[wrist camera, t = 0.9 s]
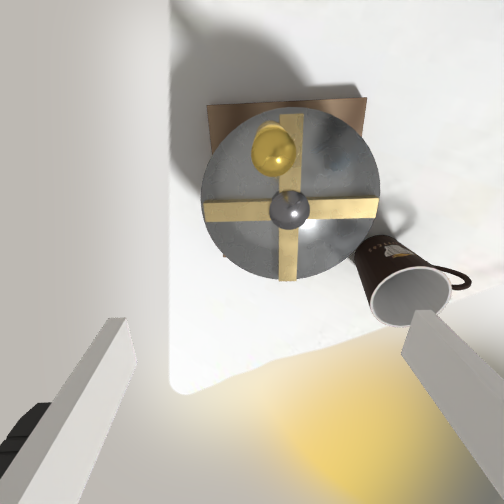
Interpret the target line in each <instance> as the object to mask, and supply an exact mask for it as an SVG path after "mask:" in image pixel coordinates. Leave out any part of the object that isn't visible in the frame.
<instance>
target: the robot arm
mask: <svg viewBox="0 0 504 504" xmlns="http://www.w3.org/2000/svg"><path fill="white" fill-rule="evenodd" d="M401 355H402V356H403V358H404V359H405V361H406V362H407V364H408V365H409V366H410V368H411V369H412V371H413V372H414V374H415V375H416V376H417V378H418V379H419V380H420V382H421V384H422V385H423V386H424V388H425V389H426V391H427V392H428V394H429V395H430V396H431V398H432V399H433V401H434V402H435V403H436V405H437V406H438V408H439V409H440V411H441V412H442V413H443V415H444V416H445V418H446V419H447V420H448V422H449V423H450V425H451V426H452V428H453V429H454V431H455V432H456V433H457V435H458V436H459V438H460V439H461V440H462V442H463V443H464V445H465V446H466V447H467V449H468V450H469V452H470V453H471V455H472V456H473V458H474V459H475V460H476V462H477V463H478V465H479V466H480V468H481V469H482V470H483V472H484V473H485V475H486V476H487V478H488V479H489V480H490V482H491V483H492V485H493V486H494V488H495V489H496V490H497V492H498V493H499V495H500V496H501V497H502V499H503V500H504V380H503V378H501V376H499V375H498V374H497V373H496V372H495V371H494V370H493V369H492V368H491V367H490V366H489V365H488V364H487V363H486V362H485V361H484V360H483V359H482V358H481V357H480V356H479V355H478V354H477V353H476V352H475V351H474V350H473V349H471V348H470V347H469V346H468V345H467V344H466V343H465V342H464V341H463V340H462V339H461V338H460V337H459V336H458V335H457V334H456V333H455V332H454V331H453V330H452V329H451V328H450V327H449V326H448V325H447V324H446V323H445V322H444V321H442V319H441V318H440V317H438V316H437V315H436V314H435V313H434V312H433V311H432V310H415V313H414V316H413V319H412V322H411V325H410V328H409V331H408V334H407V337H406V340H405V343H404V346H403V349H402V352H401ZM137 363H138V362H137V358H136V354H135V351H134V347H133V343H132V338H131V335H130V331H129V327H128V323H127V319H126V318H108V320H107V321H106V323H105V324H104V326H103V327H102V329H101V330H100V332H99V333H98V335H97V336H96V337H95V339H94V341H93V342H92V343H91V345H90V347H89V348H88V349H87V351H86V353H85V354H84V355H83V357H82V359H81V360H80V361H79V363H78V364H77V366H76V367H75V369H74V370H73V372H72V373H71V375H70V376H69V378H68V379H67V381H66V382H65V384H64V385H63V387H62V388H61V390H60V391H59V393H58V394H57V396H56V397H55V399H54V400H53V402H51V403H50V402H49V403H37V404H36V405H35V406H34V407H33V408H32V409H30V410H29V411H28V412H27V413H26V414H25V415H24V416H22V417H21V418H20V420H19V421H18V422H17V423H16V425H15V426H14V428H13V429H12V430H11V432H10V433H9V434H8V436H7V439H6V440H4V441H3V442H2V444H1V445H0V504H78V502H79V500H80V497H81V495H82V493H83V490H84V488H85V485H86V483H87V481H88V478H89V476H90V474H91V471H92V469H93V466H94V464H95V462H96V459H97V457H98V455H99V452H100V450H101V448H102V445H103V443H104V441H105V438H106V436H107V434H108V431H109V429H110V427H111V424H112V422H113V419H114V417H115V415H116V412H117V410H118V408H119V405H120V403H121V400H122V398H123V396H124V394H125V391H126V389H127V386H128V384H129V382H130V379H131V377H132V375H133V372H134V370H135V368H136V365H137Z"/></svg>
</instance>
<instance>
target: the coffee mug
mask: <svg viewBox="0 0 504 504" xmlns="http://www.w3.org/2000/svg"><path fill="white" fill-rule="evenodd" d="M354 261H355V264H356V267H357V270H358V273H359V276H360V279H361V282H362V285H363V288H364V291H365V294H366V297H367V300H368V303H369V306H370V309H371V312H372V314H373V315H374V317H375V318H376V319H377V320H378V321H380V322H381V323H383V324H385V325H388V326H392V327H410V325H411V322H412V319H413V316H414V313H415V310H432V311H433V312H434V313H435V314H436V315H438V314H439V313H440V312H441V311H442V310H443V309H444V308H445V307H446V305H447V304H448V302H449V300H450V298H451V293H452V290H463V289H467V288H469V287H470V286H471V283H472V281H471V280H470V278H469V277H468V276H467V275H465V274H463V273H461V272H458V271H455V270H452V269H448V268H444V267H440V266H435V265H431V264H430V263H428V262H427V261H425V260H424V259H422V258H421V257H419V256H418V255H417V254H415V253H414V252H412V251H411V250H409V249H408V248H407V247H405V246H404V245H402V244H401V243H399V242H398V241H396V240H395V239H394V238H392V237H390V236H386V235H377V236H373V237H370V238H368V239H366V240H365V241H364V242H362V243H361V244H360V245H359V247H358V248H357V250H356V252H355V256H354ZM441 271H443V272H447V273H450V274H453V275H456V276H458V277H460V278H462V279H463V280H464V281H465V283H463V284H460V285H451V282H450V280H449V278H448V277H447V276H446V275H445V274H444V273H443V272H441Z"/></svg>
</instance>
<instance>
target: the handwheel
mask: <svg viewBox="0 0 504 504" xmlns="http://www.w3.org/2000/svg"><path fill="white" fill-rule="evenodd" d="M379 198H380V179H379V173H378V168H377V165H376V162H375V159H374V157H373V155H372V153H371V151H370V149H369V147H368V145H367V144H366V143H365V141H364V140H363V138H362V137H361V136H360V135H359V134H358V133H357V132H356V131H355V130H354V129H353V128H352V127H351V126H349V125H348V124H347V123H345V122H344V121H343V120H341V119H339V118H337V117H335V116H333V115H331V114H329V113H326V112H323V111H320V110H316V109H310V108H304V107H286V108H278V109H273V110H270V111H266V112H263V113H261V114H258V115H256V116H254V117H252V118H250V119H248V120H247V121H245V122H243V123H242V124H240V125H239V126H238V127H237V128H236V129H234V130H233V131H232V132H231V133H229V135H228V136H227V137H226V138H225V139H224V140H223V141H222V142H221V143H220V145H219V146H218V148H217V149H216V150H215V152H214V153H213V155H212V157H211V159H210V161H209V163H208V165H207V168H206V171H205V174H204V178H203V183H202V188H201V207H202V214H203V218H204V222H205V225H206V228H207V230H208V232H209V234H210V236H211V238H212V240H213V241H214V243H215V244H216V246H217V247H218V248H219V250H220V251H221V252H222V253H223V254H224V255H225V256H226V257H227V258H228V259H229V260H230V261H232V262H233V263H234V264H236V265H237V266H239V267H240V268H242V269H244V270H246V271H248V272H250V273H253V274H255V275H258V276H262V277H266V278H271V279H279V281H296V279H300V278H306V277H310V276H313V275H317V274H319V273H322V272H324V271H326V270H328V269H330V268H332V267H334V266H336V265H337V264H339V263H340V262H342V261H343V260H344V259H346V258H347V257H348V256H349V255H350V254H351V253H352V252H353V251H354V250H355V249H356V248H357V247H358V246H359V245H360V244H361V242H362V241H363V239H364V238H365V237H366V235H367V233H368V232H369V230H370V228H371V226H372V224H373V221H374V219H375V217H376V213H377V209H378V205H379Z"/></svg>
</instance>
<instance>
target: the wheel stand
mask: <svg viewBox="0 0 504 504" xmlns="http://www.w3.org/2000/svg"><path fill="white" fill-rule="evenodd" d="M366 103H367V97H364V98H344V99H324V100H304V101H284V102H264V103H244V104H224V105H207V112H208V121H209V130H210V140H211V149H212V155H213V153H214V152H215V150H216V149H217V148H218V146H219V145H220V143H221V142H222V141H223V140H224V139H225V138H226V137H227V136H228V135H229V133H231V132H232V131H233V130H234V129H236V128H237V127H238V126H239V125H240V124H242V123H243V122H245V121H247V120H248V119H250V118H252V117H254V116H256V115H258V114H261V113H263V112H266V111H270V110H273V109H278V108H286V107H304V108H310V109H316V110H320V111H323V112H326V113H329V114H331V115H333V116H335V117H337V118H339V119H341V120H343V121H344V122H345V123H347V124H348V125H349V126H351V127H352V128H353V129H354V130H355V131H356V132H357V133H358V134H359V135H360V136H361V137H362V131H363V124H364V117H365V110H366ZM223 257H226V256H225V255H224V254H223Z"/></svg>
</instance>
